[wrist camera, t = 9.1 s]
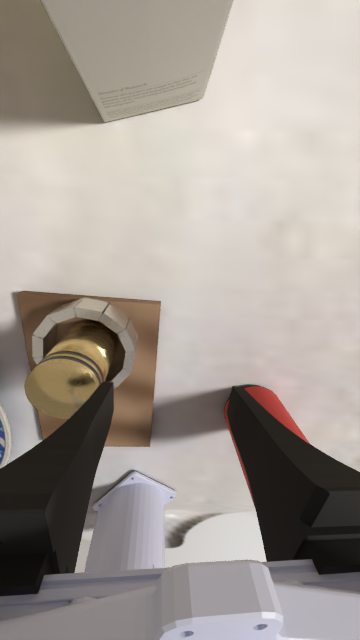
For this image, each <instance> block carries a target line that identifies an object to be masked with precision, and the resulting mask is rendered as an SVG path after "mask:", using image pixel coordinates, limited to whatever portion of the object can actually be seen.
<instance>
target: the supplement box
mask: <svg viewBox="0 0 360 640" xmlns="http://www.w3.org/2000/svg"><path fill="white" fill-rule="evenodd" d="M41 2H42V4H43V6H44V8H45V10H46V12H47V14H48V16H49V18H50V20H51V22H52V23H53V25H54V27H55V29H56V31H57V33H58V35H59V37H60V39H61V41H62V43H63V44H64V46H65V48H66V50H67V52H68V54H69V56H70V58H71V60H72V62H73V64H74V65H75V67H76V69H77V71H78V73H79V75H80V77H81V79H82V81H83V83H84V85H85V86H86V88H87V90H88V92H89V94H90V96H91V98H92V100H93V102H94V104H95V106H96V108H97V109H98V111H99V113H100V115H101V117H102V119H103V121H104V122H109V121H113V120H117V119H122V118H126V117H130V116H134V115H139V114H143V113H147V112H151V111H156V110H160V109H164V108H168V107H173V106H177V105H180V104H184V103H189V102H193V101H196V100H200V99H202V98H203V97H204V94H205V91H206V88H207V84H208V81H209V78H210V75H211V72H212V69H213V65H214V62H215V59H216V55H217V52H218V49H219V46H220V43H221V39H222V36H223V33H224V30H225V26H226V23H227V20H228V17H229V13H230V10H231V7H232V4H233V0H41Z"/></svg>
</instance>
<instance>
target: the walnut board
mask: <svg viewBox="0 0 360 640" xmlns="http://www.w3.org/2000/svg"><path fill="white" fill-rule="evenodd" d="M17 297H18V303H19V308H20V314H21V320H22V325H23V331H24V336H25V342H26V348H27V353H28V359H29V364H30V370H31V371H32V370H33V369H34V368H35V367H36V365H37V364H36V363H35V361H34V360H33V359H34V357H32V335H33V333H34V332H35V330H36V329H37V328H38V327H39V325H40V324H41V323H42V321H43V320H44V319H45V317H46V316H47V315H49V314H50V313H51V312H53V311H54V310H55V309H57V308H58V307H59V306H61V305H62V304H65V303H68V302H72V301H75V300H78V299H81V298H90V299H96V300H101V301H106V302H109V304H110V303H112V304H113V305H114V306H116V307H117V308H118V309H120V310H121V311H122V312H124V313H125V314H126V315H127V316H129V318H130V319H131V321H132V324H133V326H134V328H135V330H136V333H137V335H138V343H137V349H136V354H135V360H134V364H133V369H132V372H131V374H130V375H129V376H128V377H127V378H126V379H125V380H124V381H123V382H122V383H121V384H120V385H119V386H118V387H116V388H114V411H113V416H112V421H111V426H110V429H109V432H108V436H107V439H106V442H105V445H104V446H115V447H150V439H151V425H152V412H153V399H154V385H155V372H156V359H157V345H158V332H159V319H160V305H161V301H150V300H137V299H123V298H110V297H97V296H84V295H71V294H58V293H44V292H31V291H23V292H20V293H18V294H17ZM129 318H128V319H129ZM82 320H85V318H79V317H74V318H71V319H68V320H65V321H62V322H60V323H59V324H58V325H57V337H56V343H58V342H59V341H60V340H61V339H62V338H63V336H64V335H65V334H66V333H67V332H68V331H69V330H70V329H71V328H72V327H73V326H74V325H75V324H76V323H77V322H79V321H82ZM116 335H117V339H118V346H117V350H116V352H115V355H114V358H113V360H112V363H111V366H110V367H113V366H116V365H117V364H118V363H119V362H120V361H121V360H122V359H123V358H124V357H125V353H126V351H125V349H124V347H123V345H122V343H121V341H120V338H119V336H118V334H117V333H116ZM38 415H39V420H40V426H41V432H42V437H43V440H44V439H45V438H47V437H48V436H49V435H51V434H52V433H53V432H54V431H55V430H57V429H58V428H59V427H60V426H61V425H62V424H64V423H65V422H66V421H67V420H68V419H61V418H55V417H52V416H49V415H46V414H44V413H42V412H41V411H39V410H38Z"/></svg>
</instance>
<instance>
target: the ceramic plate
mask: <svg viewBox="0 0 360 640" xmlns="http://www.w3.org/2000/svg"><path fill="white" fill-rule="evenodd" d="M11 448H12V433H11V427H10V423H9V420H8V417H7V415H6V413H5V410H4V408H3V406H2V405H1V403H0V468H2V467H4V466H6V464H7V461H8V459H9V456H10V453H11Z"/></svg>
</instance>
